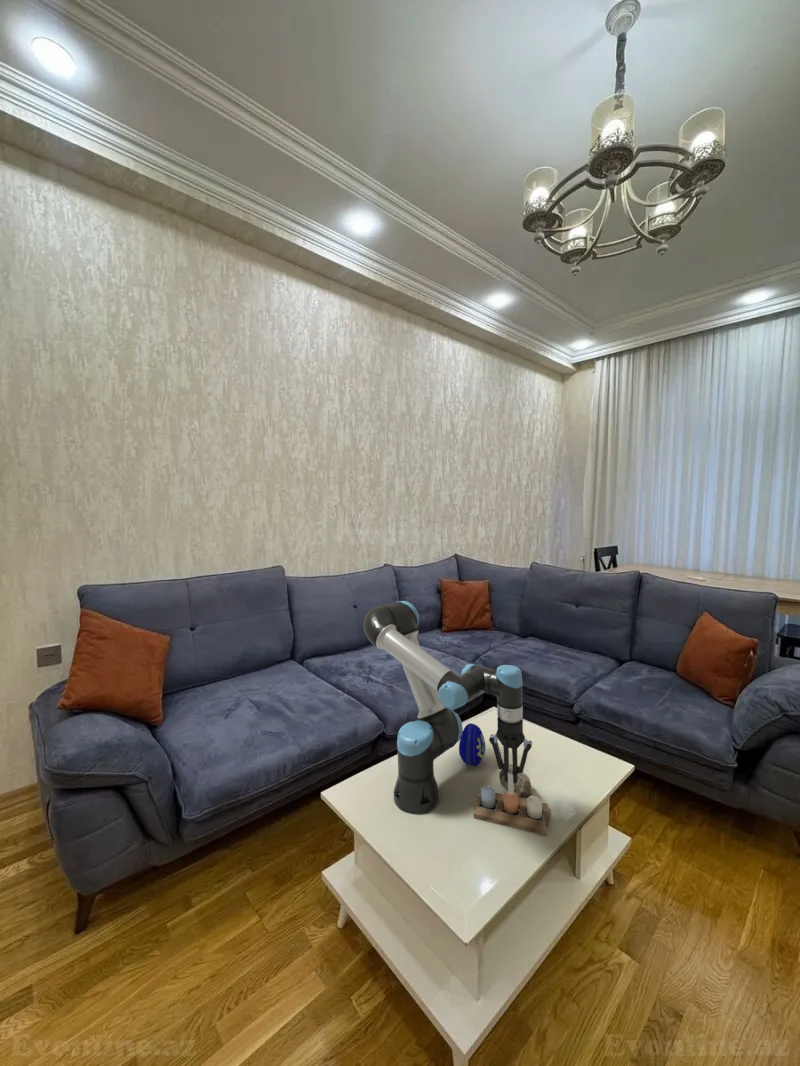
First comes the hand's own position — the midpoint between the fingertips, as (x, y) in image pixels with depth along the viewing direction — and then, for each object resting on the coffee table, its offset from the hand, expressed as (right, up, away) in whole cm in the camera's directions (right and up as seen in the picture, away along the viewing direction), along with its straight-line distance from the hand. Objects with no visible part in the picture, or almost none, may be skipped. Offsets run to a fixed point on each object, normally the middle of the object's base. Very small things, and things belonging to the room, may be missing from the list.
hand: (511, 791), depth 132 cm
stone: (+4, -7, +11) cm, 13 cm away
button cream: (+7, -5, -2) cm, 9 cm away
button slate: (-7, -5, +3) cm, 9 cm away
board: (0, -7, 0) cm, 7 cm away
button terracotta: (0, -5, 0) cm, 5 cm away
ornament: (-7, -6, +27) cm, 28 cm away
